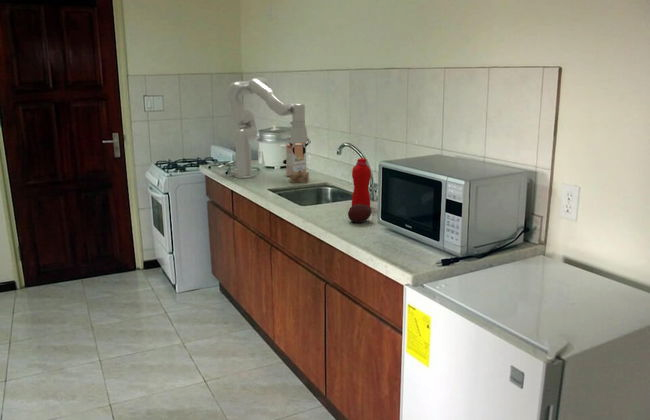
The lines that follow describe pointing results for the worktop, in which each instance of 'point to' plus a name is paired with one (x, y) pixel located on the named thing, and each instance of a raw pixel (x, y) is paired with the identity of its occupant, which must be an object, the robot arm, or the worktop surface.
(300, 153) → the terracotta block
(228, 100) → the robot arm
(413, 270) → the worktop surface
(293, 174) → the walnut base
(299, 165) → the cracker box
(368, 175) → the water bottle
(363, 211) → the potato
